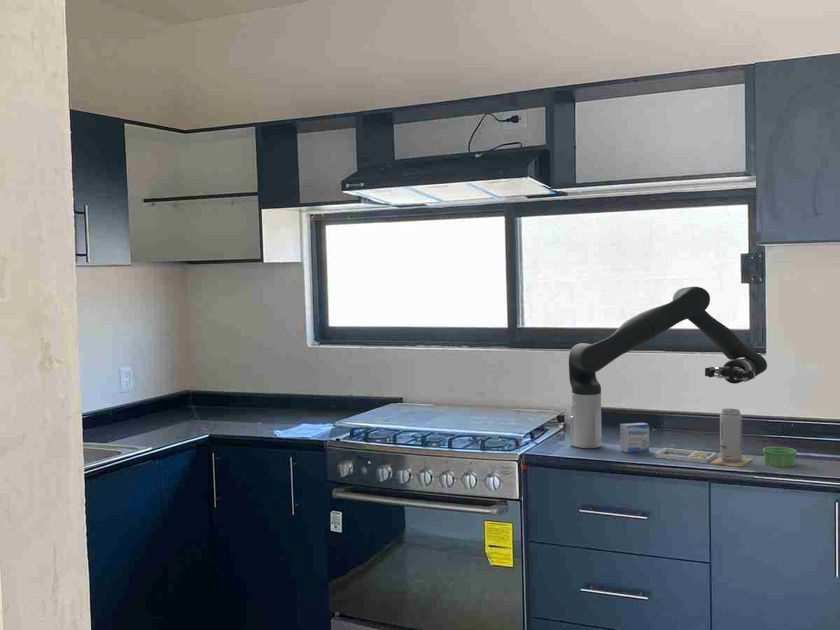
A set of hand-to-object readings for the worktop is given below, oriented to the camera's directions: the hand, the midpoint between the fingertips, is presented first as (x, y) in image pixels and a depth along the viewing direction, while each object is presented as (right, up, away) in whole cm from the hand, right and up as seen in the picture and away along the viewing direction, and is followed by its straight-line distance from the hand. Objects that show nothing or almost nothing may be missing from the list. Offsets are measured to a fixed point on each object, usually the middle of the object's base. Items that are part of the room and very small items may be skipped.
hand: (723, 374), depth 255 cm
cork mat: (-2, -25, -12) cm, 27 cm away
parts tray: (-13, -25, -4) cm, 28 cm away
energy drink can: (-2, -24, -12) cm, 27 cm away
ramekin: (+10, -25, -16) cm, 31 cm away
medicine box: (-26, -25, +6) cm, 36 cm away
